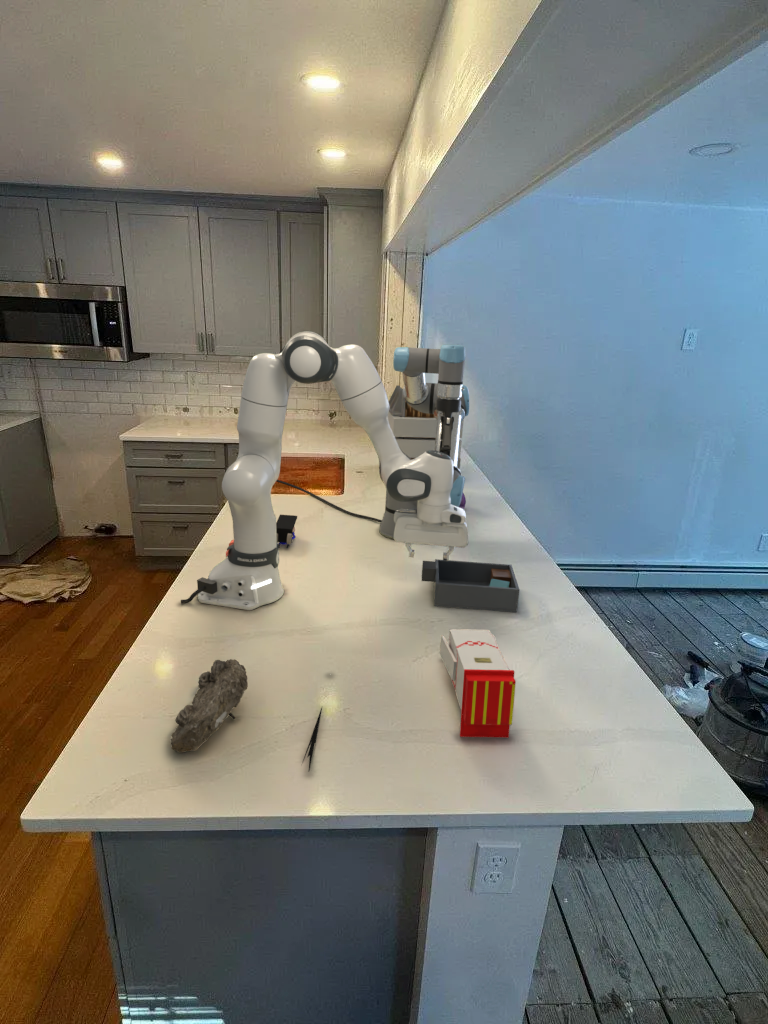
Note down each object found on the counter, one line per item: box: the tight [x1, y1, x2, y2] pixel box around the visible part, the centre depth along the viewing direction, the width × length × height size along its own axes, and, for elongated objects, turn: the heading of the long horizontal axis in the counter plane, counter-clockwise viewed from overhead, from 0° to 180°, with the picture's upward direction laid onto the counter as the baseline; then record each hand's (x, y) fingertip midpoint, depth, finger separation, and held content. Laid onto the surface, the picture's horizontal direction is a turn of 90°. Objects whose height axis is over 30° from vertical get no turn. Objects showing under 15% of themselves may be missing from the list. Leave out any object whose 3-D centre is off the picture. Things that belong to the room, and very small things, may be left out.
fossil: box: [170, 658, 249, 753], centre depth 106 cm, size 22×10×15 cm
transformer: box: [388, 384, 465, 471], centre depth 268 cm, size 34×33×41 cm
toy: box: [438, 628, 517, 738], centre depth 117 cm, size 12×13×30 cm
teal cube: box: [489, 579, 510, 588], centre depth 154 cm, size 5×5×5 cm
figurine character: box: [276, 514, 298, 549], centre depth 187 cm, size 7×8×15 cm
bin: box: [421, 558, 520, 613], centre depth 158 cm, size 26×16×8 cm, turn 86°
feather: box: [301, 673, 332, 771], centre depth 108 cm, size 2×28×2 cm
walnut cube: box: [490, 569, 511, 588], centre depth 161 cm, size 5×5×5 cm
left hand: (428, 558), depth 156 cm, fingers open, 8 cm apart
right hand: (443, 465), depth 179 cm, fingers open, 13 cm apart
